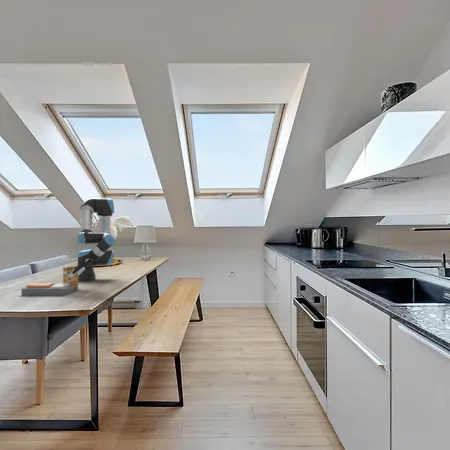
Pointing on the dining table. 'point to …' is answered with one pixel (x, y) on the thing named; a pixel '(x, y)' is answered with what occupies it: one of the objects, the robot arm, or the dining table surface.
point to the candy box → (67, 279)
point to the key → (40, 285)
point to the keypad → (49, 290)
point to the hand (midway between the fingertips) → (73, 275)
